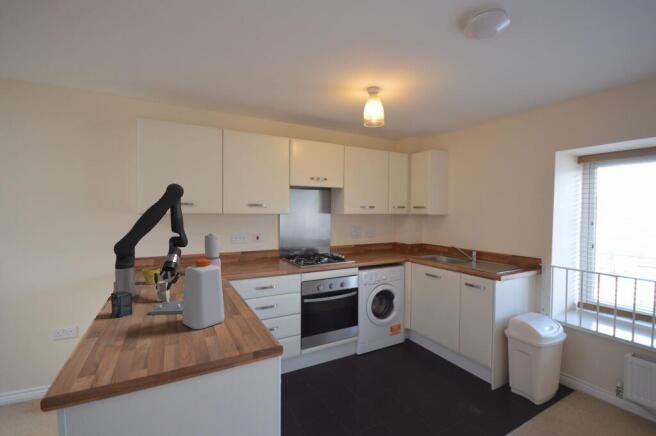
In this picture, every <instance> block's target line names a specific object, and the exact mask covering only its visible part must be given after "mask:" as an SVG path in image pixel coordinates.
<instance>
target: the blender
mask: <svg viewBox="0 0 656 436" xmlns="http://www.w3.org/2000/svg"><path fill="white" fill-rule="evenodd" d="M220 252H221V236H220V234H217V233H215V232H211V233H208V234H207V235H204V253H205V259H209V260H210V264H211V265H216V266H219V267H220V269H221V270H222V261H221V258H220Z"/></svg>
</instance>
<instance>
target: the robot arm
mask: <svg viewBox="0 0 656 436" xmlns="http://www.w3.org/2000/svg"><path fill="white" fill-rule="evenodd" d="M184 193H185V191H184V188H183V186H182V185H180V184H179V183H170V184H168V186H167V187H166V189H165V191H164V193H163V194H162V196H161V197H160V198H159V199H158V200H157V201H156V202H155V203H154V204H152V205H151V206H150V207H148V208H147V209H146V210H145V211H144V212H143V213H142V214H141V216H140V217H139V218H138V219H137V221H136V222H134V225H132V227H131V229H130V230H129V231H128V232H127V233H126V234H125V235H124V236H123V237H122V238H121V239H119V240H118V241H117V242H115V244H114V246H113V253H114V254H115V264H114V277H115V279H114V280H115V281H114V282H113V293H115V292H120V291H126V292H130V293H132V299H133V298H135V296H136V282H135V281H136V276H135V272H136V271H135V262H136V246H137V245H138V243H139V242H140V241H141V240H142V238H144V237H145V236H146V235H148V234H149V233H150V232H151V231H152V230H153V229H154V228H155V227H156V226H157V224H159V222H160V221H161V220H162V219H163V218H164V217H165V215H166V214H167V213H168V211H169V214H170V216H169V217H170V231H171V232H172V233H174V234H177V235H175V236H171V237H170V238H169V240H168V252H167V255H166V256H165V258H164V262H163V265H162V267H161V271H160V273H154V282H155V284H156V286H155V290H157V283H158V282H160V281H169V283H168V285H167V288H166V289H167V290H169V289H170V290H171V288H172V285H173V284H176V283H178V280H179V278H180V277H181V274H180V272H177V270H178V267H179V264H180V259H181V256H182V249H181V248H186V247H187V246H188V244H189V239H188V237H187V234H186V232H185V228H184V227H185V226H184V225H185V224H184V216H183V211H182V210H183V209H182V197H183V196H184Z"/></svg>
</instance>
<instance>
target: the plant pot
mask: <svg viewBox="0 0 656 436" xmlns="http://www.w3.org/2000/svg"><path fill="white" fill-rule="evenodd" d="M160 270H161V269H160V268H159V267H148V268H144V269H142V270H141V272H142V273H141V274H142V275H143V278H144V281H145V284H146V285H155V284H156V283H155V282H154V273H160V272H161V271H160Z"/></svg>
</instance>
